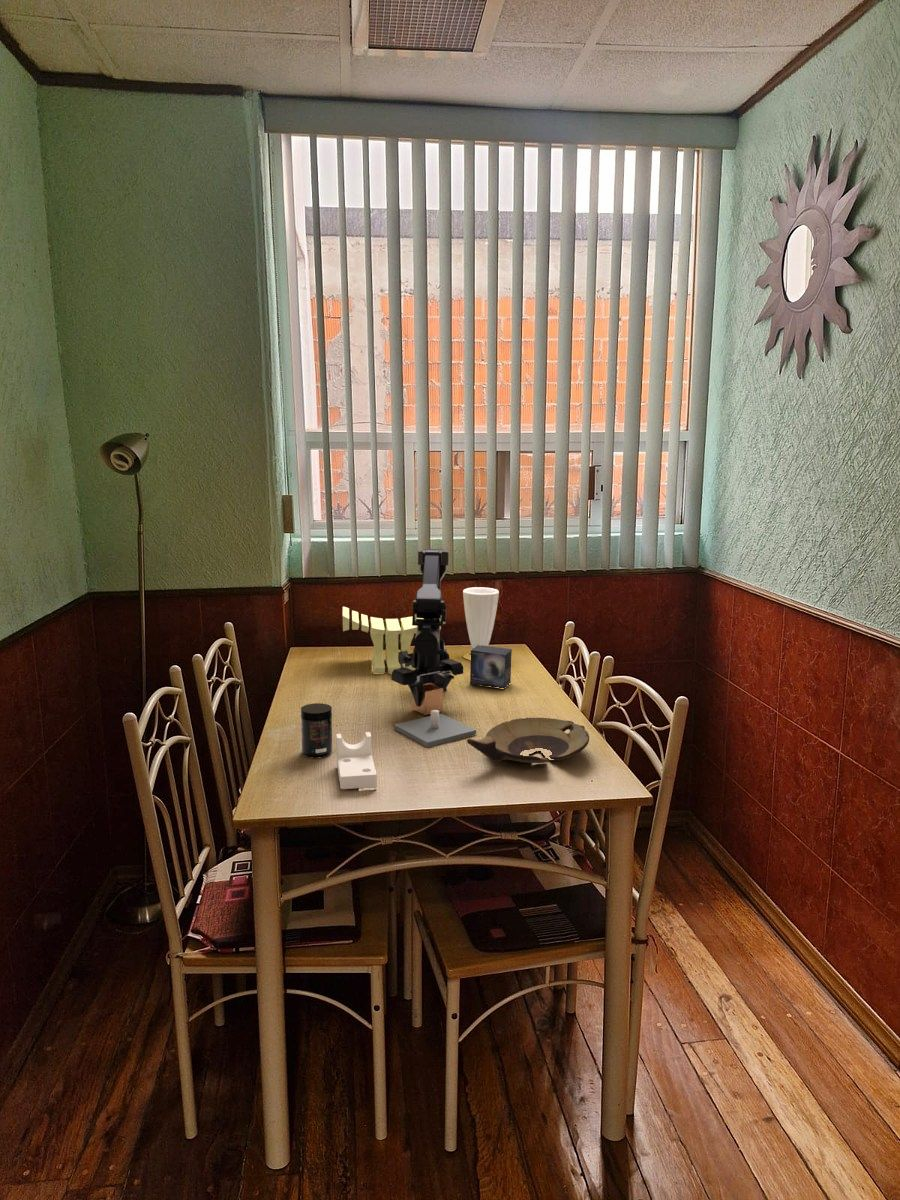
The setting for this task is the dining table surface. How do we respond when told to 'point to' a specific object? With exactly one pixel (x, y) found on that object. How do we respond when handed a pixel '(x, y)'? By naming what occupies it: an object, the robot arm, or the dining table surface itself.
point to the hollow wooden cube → (429, 699)
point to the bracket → (356, 764)
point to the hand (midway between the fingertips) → (427, 704)
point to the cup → (480, 613)
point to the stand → (434, 729)
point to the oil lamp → (532, 739)
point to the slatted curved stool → (391, 638)
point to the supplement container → (316, 730)
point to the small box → (490, 666)
